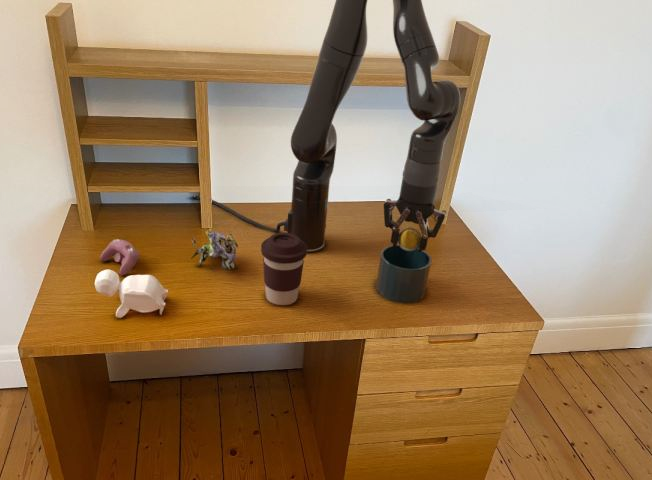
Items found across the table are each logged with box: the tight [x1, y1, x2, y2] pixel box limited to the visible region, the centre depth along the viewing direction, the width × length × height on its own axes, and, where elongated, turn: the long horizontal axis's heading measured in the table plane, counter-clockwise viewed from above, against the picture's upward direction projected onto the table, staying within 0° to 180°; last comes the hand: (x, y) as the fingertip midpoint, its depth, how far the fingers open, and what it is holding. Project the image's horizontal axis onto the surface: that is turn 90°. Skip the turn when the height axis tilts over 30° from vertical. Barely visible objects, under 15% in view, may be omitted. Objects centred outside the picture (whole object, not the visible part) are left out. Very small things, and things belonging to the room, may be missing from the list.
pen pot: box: [375, 243, 432, 304], centre depth 137 cm, size 12×12×9 cm
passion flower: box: [190, 227, 239, 272], centre depth 141 cm, size 11×11×12 cm
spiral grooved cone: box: [397, 227, 422, 252], centre depth 132 cm, size 5×5×10 cm
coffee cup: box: [260, 232, 308, 306], centre depth 130 cm, size 10×10×15 cm
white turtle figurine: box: [94, 268, 169, 319], centre depth 125 cm, size 9×8×15 cm
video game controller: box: [99, 238, 140, 277], centre depth 140 cm, size 10×5×7 cm, turn 47°
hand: (407, 247), depth 134 cm, fingers closed on spiral grooved cone, 5 cm apart
